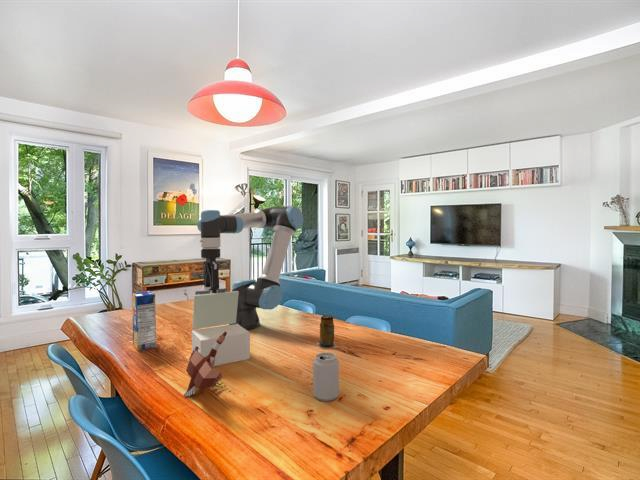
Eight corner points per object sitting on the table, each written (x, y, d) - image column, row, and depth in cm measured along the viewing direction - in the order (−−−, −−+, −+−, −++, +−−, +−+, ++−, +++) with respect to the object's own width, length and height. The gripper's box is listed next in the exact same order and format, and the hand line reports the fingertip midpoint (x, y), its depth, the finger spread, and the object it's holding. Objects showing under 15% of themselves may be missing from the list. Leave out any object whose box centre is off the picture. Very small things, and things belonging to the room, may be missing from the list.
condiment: (331, 341, 152) (331, 314, 152) (339, 347, 144) (339, 318, 144) (315, 343, 150) (315, 315, 149) (322, 349, 142) (322, 320, 141)
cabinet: (237, 347, 144) (237, 323, 143) (250, 358, 132) (249, 332, 131) (191, 356, 134) (191, 330, 134) (201, 368, 122) (200, 340, 122)
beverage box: (137, 350, 140) (136, 296, 140) (133, 343, 149) (132, 292, 148) (156, 347, 144) (155, 294, 144) (150, 340, 153) (149, 290, 153)
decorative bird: (262, 387, 100) (242, 343, 96) (202, 430, 91) (178, 383, 88) (229, 357, 124) (213, 320, 120) (179, 388, 115) (160, 350, 111)
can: (312, 390, 106) (312, 351, 105) (337, 389, 106) (337, 350, 106) (314, 403, 98) (314, 360, 98) (340, 401, 99) (340, 360, 99)
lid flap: (235, 323, 143) (228, 312, 151) (238, 291, 140) (231, 282, 147) (192, 329, 134) (187, 318, 142) (194, 296, 131) (189, 286, 138)
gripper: (195, 247, 148) (196, 301, 149) (207, 249, 132) (208, 310, 132) (213, 246, 152) (213, 299, 153) (227, 249, 136) (227, 307, 136)
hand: (211, 304), depth 143 cm, fingers open, 7 cm apart
